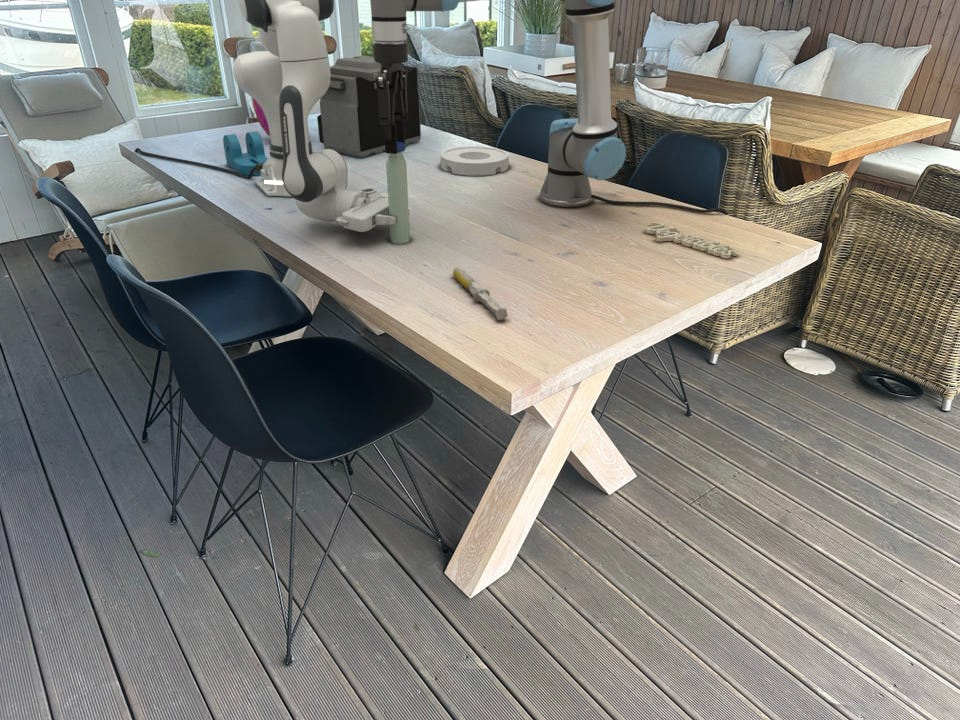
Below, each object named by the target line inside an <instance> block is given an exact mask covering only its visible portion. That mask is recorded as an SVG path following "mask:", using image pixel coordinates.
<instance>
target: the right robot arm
mask: <svg viewBox="0 0 960 720" xmlns="http://www.w3.org/2000/svg"><path fill="white" fill-rule="evenodd" d="M369 1H370V3H369V4H370V14H371V39H372V41H373V42H374V43H373V44H372V50H373V51H372V52H373V54H372V55H373V57H374V61H375V62H378V63H380V64H381V71H380V77H376V78H375V82H376V87H377V97H378V112H379V123H380V124H383V125H384V136H385V150H384V151H385V154H389V153H390V154H397V142H403V143H405V128H404V120H403V119H408V116H406V115H407V114H408V105H407V70H402V66H403V65H402V64H403V63H406V62H408V60H409V50H408V44H407V42H406V41H407V40H408V34H407V33H408V31H409V26H408V25H407V12H410V13H411V12H412V13H413V12H441V13H444V12H449V11H455V9H457V7H458V6H459V3H466V2H477V1H479V0H369ZM559 1H560V2H564V5H565V6H564V7H565V16H566V17H567V18H568V19H569V20H570V21H571V23H572V37H573V53H574V54H573V55H574V74H575V91H576V93H575V94H576V111H577V118H562V119H554V120H553V121H552V122H551V124H550V127H549V128H550V129H549V134H548V136H549V141H548V142H549V143H548V156H547V157H548V159H547V173H546V176H545V178H544V181H543V184H542V186H541V188H540V192H539V200H540V202H542V203H543V204H546V205H549V206H553V207H558V208H559V207H560V208H580V207H584V206H588V205H589V204H591V203H592V199H594V200H596V201H600V202H603V203H605V204H612V205H618V206H619V205H623V206H656V207H657V206H659V207H666V208H673V209H679V210H685V211H688V212H693V213H700V214H709V213H715V212H720V213H721V214H723V215H724V216H729V215H730V214H729V212H728V211H727V210H725V209H724V208H721V207H713V208H707V209H702V208H695V207H691V206H687V205H682V204H674V203H669V202H662V201H661V202H659V201H630V200H629V201H626V200H613V199H607V198H604V197H601V196H598V195H595V194H593V193H592V188H591V184H590V179H594V180H597V181H605V180H608V179H611V178H612V177H614V176H615V175H616V174H618V171H619V170H620V169H621V168H622V167H623V165H624V163H625V160H626V157H627V149H626V145H625V144H624V142H623V141H622V140H621V138H618V123H617V122H616V120H614V119H613V118H612V104H611V103H612V101H611V100H612V99H611V67H610V62H611V61H610V33H609V32H610V31H609V29H610V28H609V27H610V25H609V18H610V17H611V15H612V13H613V12H614V11H615V0H559ZM394 118H395V119H394Z"/></svg>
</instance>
